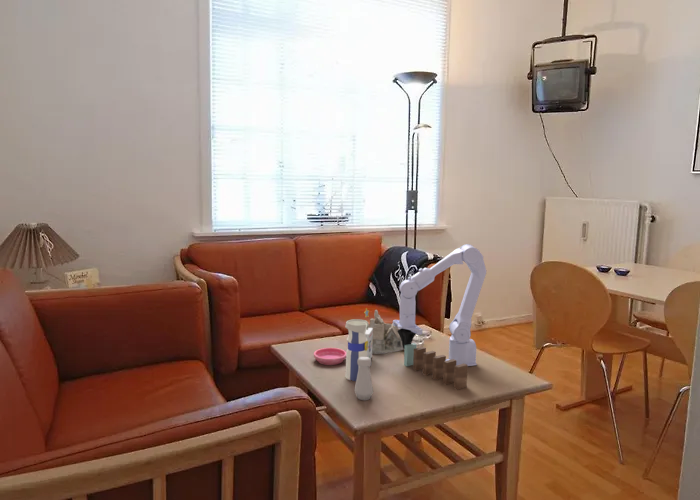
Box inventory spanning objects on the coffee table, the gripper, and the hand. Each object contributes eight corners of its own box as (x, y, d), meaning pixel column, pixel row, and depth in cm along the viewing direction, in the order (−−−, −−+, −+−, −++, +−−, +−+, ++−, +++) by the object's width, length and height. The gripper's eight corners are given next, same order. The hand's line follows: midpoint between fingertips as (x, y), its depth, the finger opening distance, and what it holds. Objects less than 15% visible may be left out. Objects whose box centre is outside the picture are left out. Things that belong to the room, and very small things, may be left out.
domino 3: (422, 373, 187) (423, 352, 186) (431, 371, 189) (432, 350, 188) (425, 375, 186) (426, 354, 185) (435, 372, 188) (435, 351, 187)
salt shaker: (353, 394, 169) (354, 354, 167) (371, 393, 170) (372, 354, 168) (355, 401, 164) (356, 361, 162) (374, 401, 164) (374, 360, 162)
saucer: (351, 364, 196) (352, 356, 195) (319, 368, 191) (319, 360, 191) (339, 353, 207) (340, 345, 207) (309, 357, 203) (309, 349, 202)
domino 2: (413, 369, 191) (413, 348, 190) (422, 366, 193) (422, 346, 192) (416, 370, 190) (416, 350, 189) (425, 368, 192) (425, 348, 191)
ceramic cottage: (359, 351, 209) (362, 314, 207) (372, 340, 225) (375, 306, 223) (397, 359, 204) (401, 321, 202) (408, 347, 219) (411, 312, 217)
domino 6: (453, 388, 175) (454, 366, 174) (463, 385, 177) (464, 363, 176) (457, 389, 173) (458, 367, 172) (466, 386, 176) (467, 364, 175)
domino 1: (404, 365, 195) (404, 345, 194) (413, 362, 198) (413, 343, 196) (406, 366, 194) (407, 346, 193) (416, 364, 196) (416, 344, 195)
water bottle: (371, 373, 187) (372, 303, 183) (366, 382, 179) (367, 309, 175) (348, 370, 189) (348, 302, 185) (342, 380, 181) (342, 308, 177)
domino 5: (442, 383, 179) (443, 361, 178) (452, 380, 181) (453, 358, 180) (446, 384, 177) (447, 362, 176) (455, 381, 180) (456, 360, 179)
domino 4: (432, 378, 183) (433, 357, 182) (441, 375, 185) (442, 354, 184) (435, 379, 182) (436, 358, 180) (445, 377, 184) (445, 356, 183)
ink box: (359, 356, 204) (359, 326, 203) (372, 357, 203) (373, 327, 202) (355, 363, 196) (355, 332, 194) (369, 365, 195) (369, 333, 193)
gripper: (386, 310, 198) (385, 345, 200) (412, 319, 187) (411, 356, 189) (401, 307, 202) (400, 342, 204) (427, 316, 190) (426, 352, 192)
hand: (406, 348), depth 197 cm, fingers closed
